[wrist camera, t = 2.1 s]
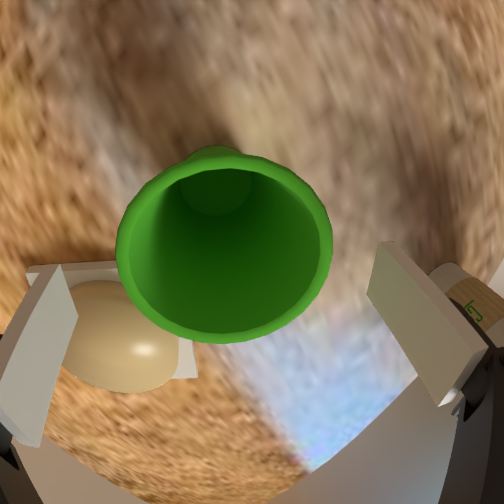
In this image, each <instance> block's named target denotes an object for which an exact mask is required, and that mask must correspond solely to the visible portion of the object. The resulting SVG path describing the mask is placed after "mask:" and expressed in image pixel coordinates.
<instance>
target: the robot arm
mask: <svg viewBox="0 0 504 504" xmlns="http://www.w3.org/2000/svg"><path fill="white" fill-rule="evenodd" d="M367 296H368V297H369V299H370V300H371V302H372V303H373V305H374V306H375V308H376V309H377V311H378V312H379V314H380V315H381V317H382V318H383V320H384V321H385V323H386V324H387V326H388V327H389V329H390V330H391V332H392V333H393V335H394V337H395V338H396V340H397V341H398V343H399V344H400V346H401V348H402V349H403V351H404V352H405V354H406V355H407V357H408V359H409V360H410V362H411V364H412V365H413V367H414V368H415V370H416V372H417V373H418V375H419V376H420V378H421V380H422V382H423V383H424V385H425V387H426V388H427V390H428V392H429V393H430V395H431V397H432V399H433V400H434V402H435V404H436V406H437V407H439V406H441V405H444V404H446V403H448V402H451V401H453V400H454V398H455V397H456V396H457V394H458V393H459V392H460V390H461V391H462V393H463V394H464V397H463V398H462V399H461V400H460V402H459V403H458V404H457V406H456V407H455V408H454V409H453V411H452V414H451V415H454V414H455V413H456V412H457V410H458V409H459V408H460V409H459V414H458V415H457V416H458V422H457V428H456V434H455V439H454V444H453V449H452V454H451V458H450V462H449V466H448V471H447V474H446V478H445V482H444V486H443V489H442V493H441V496H440V499H439V502H438V504H504V347H499V348H497V347H496V346H495V344H494V343H493V342H492V341H491V339H490V338H489V337H488V336H487V334H486V333H485V332H484V331H483V330H482V328H481V327H480V326H479V325H478V324H477V323H475V320H474V319H473V318H472V317H471V316H470V315H469V313H468V312H467V311H466V310H465V309H464V308H463V306H462V305H461V304H459V303H458V302H456V301H455V300H453V299H452V298H447V297H446V296H445V294H444V293H443V292H442V291H441V290H440V289H439V288H438V287H437V286H436V285H435V283H434V282H433V281H432V280H431V279H430V278H429V277H428V276H427V275H426V274H425V273H424V272H423V271H422V270H421V269H420V268H419V266H418V265H417V264H416V263H415V262H414V261H413V260H412V259H411V258H410V257H409V256H408V255H407V254H406V253H405V252H404V251H403V250H402V249H401V248H400V247H399V246H398V245H397V244H396V243H395V242H394V241H387V242H379V244H378V248H377V253H376V257H375V262H374V266H373V270H372V274H371V278H370V282H369V286H368V290H367ZM78 317H79V316H78V313H77V311H76V308H75V305H74V303H73V300H72V297H71V295H70V292H69V289H68V286H67V283H66V280H65V277H64V274H63V271H62V268H61V265H60V264H46V265H44V267H43V268H42V270H41V271H40V273H39V274H38V276H37V278H36V279H35V281H34V282H33V284H32V286H31V287H30V289H29V290H28V292H27V294H26V295H25V297H24V299H23V300H22V302H21V304H20V306H19V307H18V309H17V311H16V313H15V314H14V316H13V318H12V320H11V322H10V323H9V325H8V327H7V329H6V331H5V333H4V335H3V334H0V504H43V502H42V500H41V498H40V497H39V495H38V493H37V491H36V490H35V488H34V486H33V484H32V482H31V480H30V478H29V476H28V474H27V472H26V471H25V468H24V466H23V464H22V462H21V460H20V458H19V456H18V453H17V451H16V449H15V447H14V446H13V445H12V443H11V440H12V436H14V437H15V438H16V439H17V440H18V441H19V442H20V443H21V444H23V445H27V446H31V447H36V448H39V447H40V442H41V438H42V434H43V430H44V426H45V421H46V417H47V413H48V410H49V406H50V402H51V399H52V395H53V391H54V388H55V385H56V381H57V378H58V375H59V371H60V368H61V365H62V362H63V359H64V356H65V353H66V350H67V347H68V344H69V341H70V339H71V336H72V333H73V330H74V327H75V325H76V322H77V319H78Z"/></svg>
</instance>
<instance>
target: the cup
mask: <svg viewBox="0 0 504 504" xmlns="http://www.w3.org/2000/svg"><path fill="white" fill-rule="evenodd" d="M332 255H333V235H332V227H331V224H330V221H329V218H328V215H327V212H326V209H325V206H324V205H323V204H322V202H321V201H320V199H319V198H318V196H317V195H316V193H315V192H314V190H313V189H312V188H311V186H310V185H308V184H307V183H306V182H305V181H304V180H302V179H301V178H300V177H299V176H297V175H296V174H295V173H294V172H293V171H291V170H290V169H288V168H286V167H284V166H281V165H279V164H277V163H275V162H272V161H270V160H268V159H266V158H263V157H258V156H252V155H246V154H242V153H240V152H238V151H236V150H234V149H232V148H229V147H226V146H219V145H216V146H207V147H205V148H202V149H199V150H197V151H196V152H194V153H193V154H191V155H190V156H189V157H188V158H186V159H185V160H184V161H183V162H180V163H178V164H175V165H172V166H170V167H169V168H167V169H166V170H164V171H163V172H161V173H160V174H159V175H157V176H156V177H154V178H153V179H151V180H150V181H149V182H147V183H146V184H145V185H144V186H143V187H142V189H141V190H140V191H139V192H138V193H137V195H136V196H135V197H134V198H133V200H132V201H131V202H130V203H129V205H128V206H127V209H126V211H125V213H124V215H123V218H122V220H121V222H120V225H119V227H118V231H117V239H116V247H115V257H116V263H117V269H118V275H119V277H120V280H121V282H122V284H123V286H124V288H125V290H126V292H127V294H128V297H129V299H130V300H131V301H132V302H133V303H134V305H135V306H136V307H137V308H138V309H139V311H140V312H141V313H142V314H143V315H144V316H145V317H146V318H148V319H149V320H150V321H152V322H153V323H154V324H156V325H157V326H158V327H160V328H161V329H163V330H166V331H168V332H170V333H172V334H174V335H176V336H178V337H181V338H185V339H189V340H193V341H197V342H201V343H216V344H227V343H236V342H244V341H248V340H252V339H255V338H259V337H262V336H265V335H268V334H270V333H272V332H274V331H276V330H278V329H280V328H281V327H283V326H285V325H287V324H288V323H290V322H291V321H292V320H293V319H295V318H296V317H297V316H299V315H300V314H301V313H302V312H304V310H305V309H306V308H307V307H308V306H309V305H310V303H311V302H312V301H313V300H314V299H315V298H316V296H317V295H318V293H319V291H320V290H321V288H322V286H323V284H324V282H325V280H326V278H327V276H328V272H329V268H330V264H331V259H332Z"/></svg>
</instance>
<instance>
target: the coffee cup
mask: <svg viewBox="0 0 504 504" xmlns="http://www.w3.org/2000/svg"><path fill="white" fill-rule="evenodd" d="M428 277H429V278H430V279H431V280H432V281H433V282H434V283H435V285H436V286H437V287H438V288H439V289H440V290H441V291H442V292H443V293H444V294H445V296H446V297H447V298H452V299H453V300H455V301H456V302H458V303H459V304H461V305H462V306H463V308H464V309H465V310H466V311H467V312H468V313H469V315H470V316H471V317H472V318H473V319H474V320H475V323H477V324H478V325H479V326H480V327H481V328H482V330H483V331H484V332H485V333H486V334H487V336H488V337H489V338H490V339H491V341H492V342H493V343H494V344H495V346H496V347H497V348H499V347H504V299H503V298H501V297H500V296H499V295H498V294H497V293H495V292H494V291H493V290H492V289H490V288H489V287H488V286H487V285H485V284H484V283H483V282H481V281H480V280H479V279H477V278H475V277H473V276H471V275H470V274H469V273H467V272H466V271H465V270H463V269H462V268H461V267H459V266H458V265H457V264H455V263H451V262H449V263H445V264H442V265H440V266H438V267H437V268H435V269H434V270H433V271H432V272H431V273H430V274H429V275H428Z"/></svg>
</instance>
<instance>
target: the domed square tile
mask: <svg viewBox="0 0 504 504" xmlns="http://www.w3.org/2000/svg"><path fill="white" fill-rule="evenodd" d="M60 265H61V268H62V271H63V274H64V277H65V280H66V283H67V286H68V289H69V292H70V295H71V297H72V300H73V303H74V305H75V308H76V311H77V313H78V316H79V317H78V319H77V322H76V325H75V327H74V330H73V333H72V336H71V339H70V341H69V344H68V347H67V350H66V353H65V356H64V359H63V362H62V365H63V366H64V367H65V368H66V369H67V370H68V371H69V372H70V373H72V374H73V375H74V376H75V378H79V379H81V380H82V381H84V382H86V383H88V384H90V385H93V386H96V387H98V388H101V389H105V390H109V391H114V392H121V393H137V392H144V391H149V390H152V389H155V388H157V387H159V386H161V385H163V384H165V383H166V382H167V381H168V380H170V379H179V378H198V368H197V362H196V357H195V351H194V345H193V340H189V339H185V338H181V337H178V336H176V335H174V334H172V333H170V332H168V331H166V330H163V329H161V328H160V327H158V326H157V325H156V324H154V323H153V322H152V321H150V320H149V319H148V318H146V317H145V316H144V315H143V314H142V313H141V312H140V311H139V309H138V308H137V307H136V306H135V305H134V303H133V302H132V301H131V300H130V299H129V297H128V294H127V292H126V290H125V288H124V286H123V284H122V282H121V280H120V277H119V275H118V269H117V263H116V260H112V261H96V262H81V263H65V264H60ZM43 267H44V265H33V266H30V267H29V268H28V270H27V271H26V273H25V275H26V277H27V280H28V282H29V285H30V287H31V286H32V284H33V282H34V281H35V279H36V278H37V276H38V274H39V273H40V271H41V270H42V268H43Z"/></svg>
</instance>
